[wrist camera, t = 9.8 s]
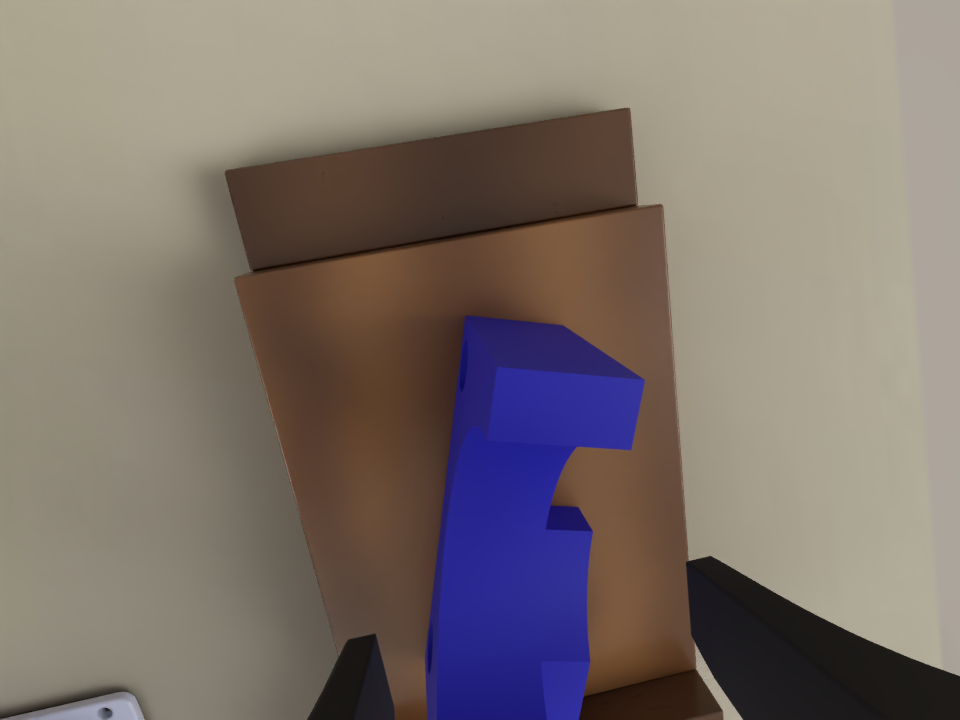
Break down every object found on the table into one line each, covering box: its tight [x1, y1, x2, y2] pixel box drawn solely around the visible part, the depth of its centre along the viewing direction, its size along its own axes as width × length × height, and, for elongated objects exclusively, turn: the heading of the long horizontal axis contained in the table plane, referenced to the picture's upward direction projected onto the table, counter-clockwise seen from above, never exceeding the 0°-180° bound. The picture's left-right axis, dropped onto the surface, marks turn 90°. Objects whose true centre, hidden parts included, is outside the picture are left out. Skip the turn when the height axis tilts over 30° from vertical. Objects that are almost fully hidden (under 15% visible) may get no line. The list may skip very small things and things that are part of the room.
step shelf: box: [225, 108, 723, 720], centre depth 19 cm, size 12×23×5 cm, turn 9°
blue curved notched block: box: [425, 315, 645, 720], centre depth 15 cm, size 12×4×6 cm, turn 173°
